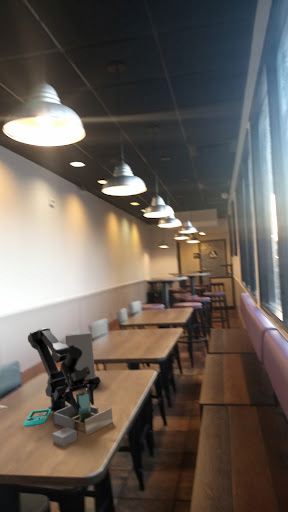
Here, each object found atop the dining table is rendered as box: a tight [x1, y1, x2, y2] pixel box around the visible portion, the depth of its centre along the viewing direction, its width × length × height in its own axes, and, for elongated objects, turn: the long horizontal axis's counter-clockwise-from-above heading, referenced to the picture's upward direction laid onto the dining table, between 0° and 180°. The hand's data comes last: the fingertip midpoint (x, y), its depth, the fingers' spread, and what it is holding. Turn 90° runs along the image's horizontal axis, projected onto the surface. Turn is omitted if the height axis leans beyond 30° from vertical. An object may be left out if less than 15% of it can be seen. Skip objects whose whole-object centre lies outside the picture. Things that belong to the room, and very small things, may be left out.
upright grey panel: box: [65, 331, 96, 381], centre depth 203 cm, size 14×6×25 cm, turn 94°
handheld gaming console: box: [23, 408, 52, 427], centre depth 155 cm, size 8×1×15 cm
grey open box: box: [52, 404, 99, 430], centre depth 148 cm, size 13×13×4 cm
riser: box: [52, 427, 78, 447], centre depth 131 cm, size 6×6×3 cm
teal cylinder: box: [75, 391, 92, 423], centre depth 144 cm, size 5×5×10 cm
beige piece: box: [72, 407, 114, 436], centre depth 143 cm, size 13×13×5 cm
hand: (85, 407), depth 143 cm, fingers open, 6 cm apart
